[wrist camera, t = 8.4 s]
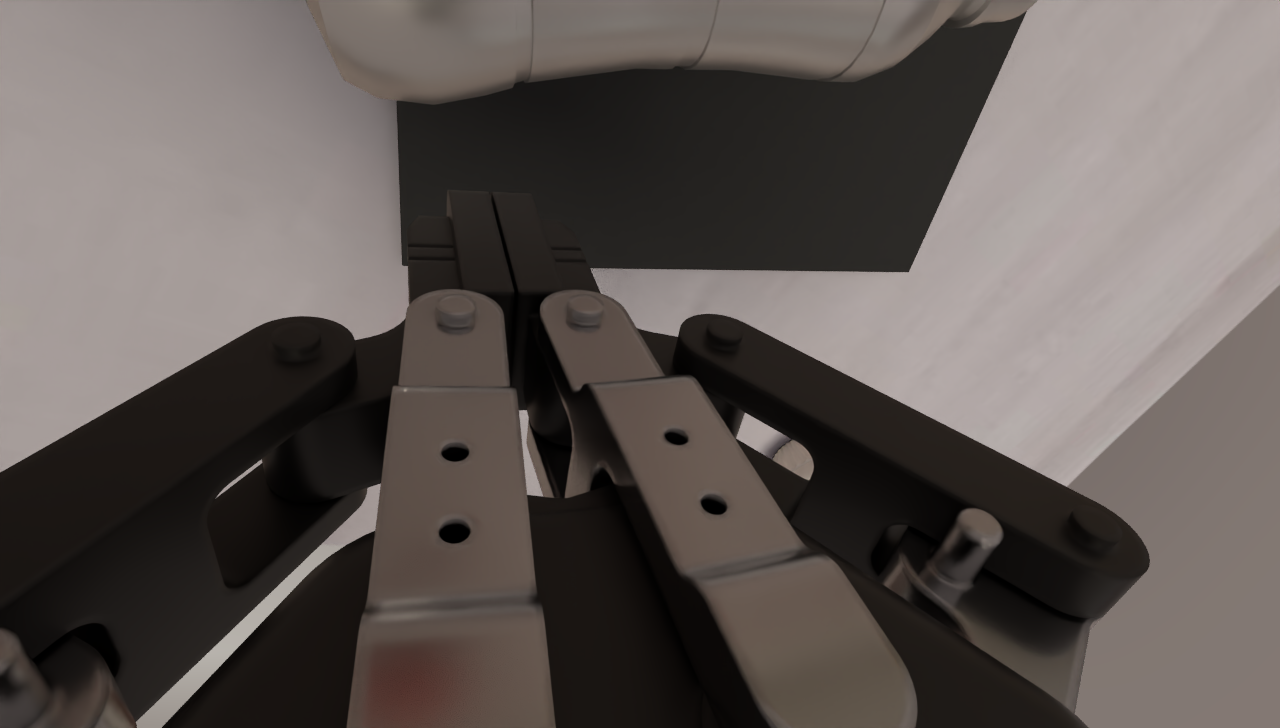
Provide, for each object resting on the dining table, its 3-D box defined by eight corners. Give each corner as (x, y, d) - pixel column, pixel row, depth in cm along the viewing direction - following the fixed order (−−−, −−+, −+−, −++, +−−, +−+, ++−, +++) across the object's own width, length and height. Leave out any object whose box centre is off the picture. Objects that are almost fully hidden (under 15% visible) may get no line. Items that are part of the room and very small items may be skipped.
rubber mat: (385, -241, 17) (385, -242, 17) (1062, -86, 24) (1070, -85, 24) (402, 260, 25) (402, 266, 25) (904, 268, 32) (908, 272, 32)
